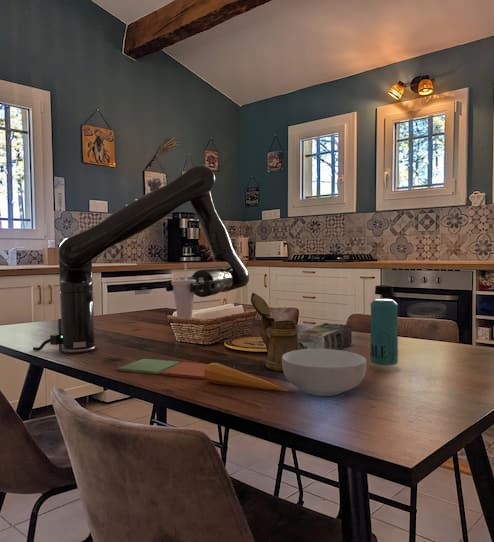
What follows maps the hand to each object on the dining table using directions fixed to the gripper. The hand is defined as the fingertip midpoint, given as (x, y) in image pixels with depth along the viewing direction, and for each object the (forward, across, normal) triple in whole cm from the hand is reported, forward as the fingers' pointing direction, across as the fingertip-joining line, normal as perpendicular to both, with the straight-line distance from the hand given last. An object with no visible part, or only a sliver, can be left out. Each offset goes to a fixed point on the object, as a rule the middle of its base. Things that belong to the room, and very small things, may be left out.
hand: (179, 287), depth 129 cm
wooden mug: (-6, +24, +20) cm, 31 cm away
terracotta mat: (+6, +6, +19) cm, 21 cm away
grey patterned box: (-30, +30, +20) cm, 47 cm away
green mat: (+6, -6, +20) cm, 21 cm away
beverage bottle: (-12, +48, +20) cm, 54 cm away
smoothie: (-2, 0, +8) cm, 9 cm away
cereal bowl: (+11, +40, +19) cm, 45 cm away
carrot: (+14, +24, +20) cm, 34 cm away
